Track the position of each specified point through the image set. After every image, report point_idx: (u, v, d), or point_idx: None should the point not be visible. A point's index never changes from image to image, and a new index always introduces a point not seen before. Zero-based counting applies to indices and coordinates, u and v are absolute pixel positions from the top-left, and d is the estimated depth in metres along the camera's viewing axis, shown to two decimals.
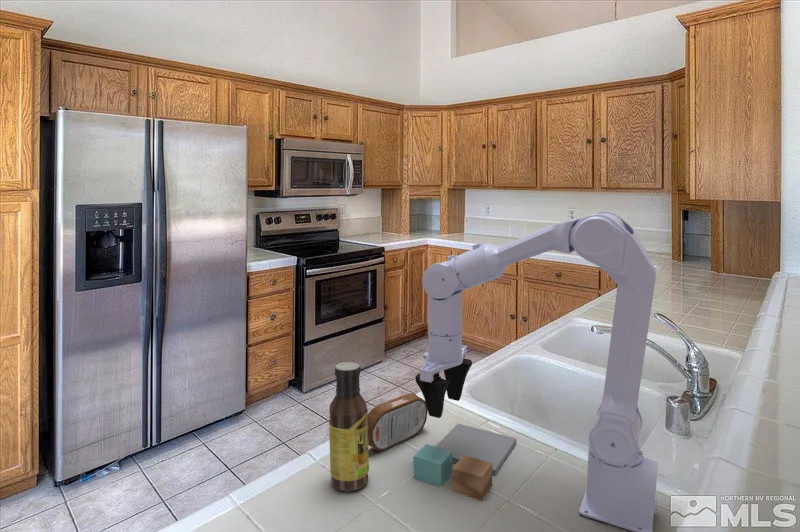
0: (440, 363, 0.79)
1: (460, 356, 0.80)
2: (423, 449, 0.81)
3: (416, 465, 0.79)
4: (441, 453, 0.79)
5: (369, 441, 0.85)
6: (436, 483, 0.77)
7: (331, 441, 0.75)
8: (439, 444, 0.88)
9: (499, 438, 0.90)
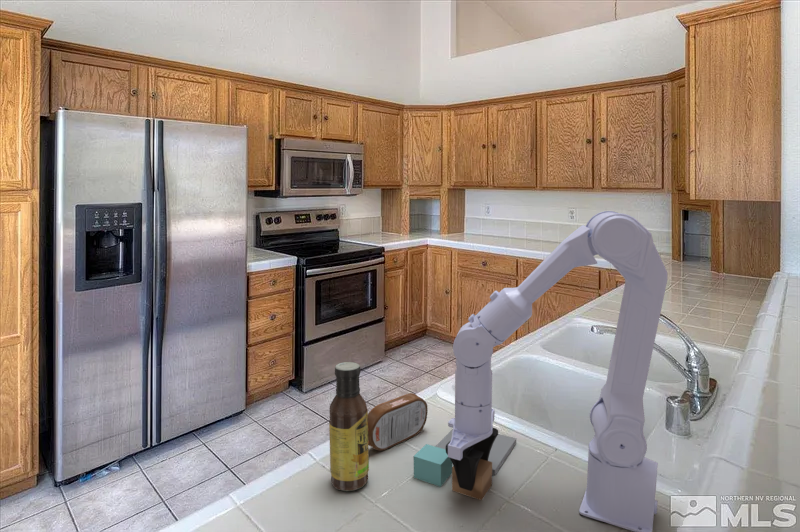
0: (469, 435, 0.72)
1: (490, 426, 0.73)
2: (423, 449, 0.81)
3: (416, 465, 0.79)
4: (441, 453, 0.79)
5: (369, 441, 0.85)
6: (436, 483, 0.77)
7: (331, 441, 0.75)
8: (439, 444, 0.88)
9: (499, 438, 0.90)
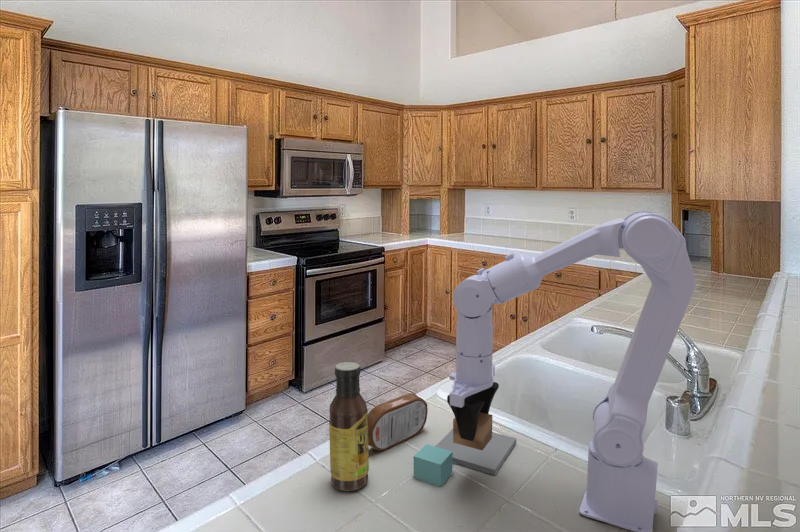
0: (470, 386, 0.73)
1: (491, 378, 0.75)
2: (423, 449, 0.81)
3: (416, 465, 0.79)
4: (441, 453, 0.79)
5: (369, 441, 0.85)
6: (436, 483, 0.77)
7: (331, 441, 0.75)
8: (439, 444, 0.88)
9: (499, 438, 0.90)
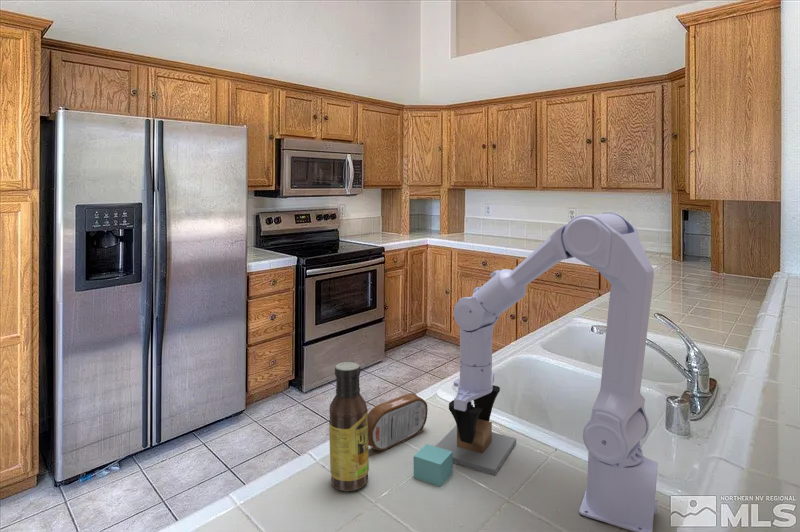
0: (472, 392, 0.83)
1: (490, 384, 0.84)
2: (423, 449, 0.81)
3: (416, 465, 0.79)
4: (441, 453, 0.79)
5: (369, 441, 0.85)
6: (436, 483, 0.77)
7: (331, 441, 0.75)
8: (439, 444, 0.88)
9: (499, 438, 0.90)
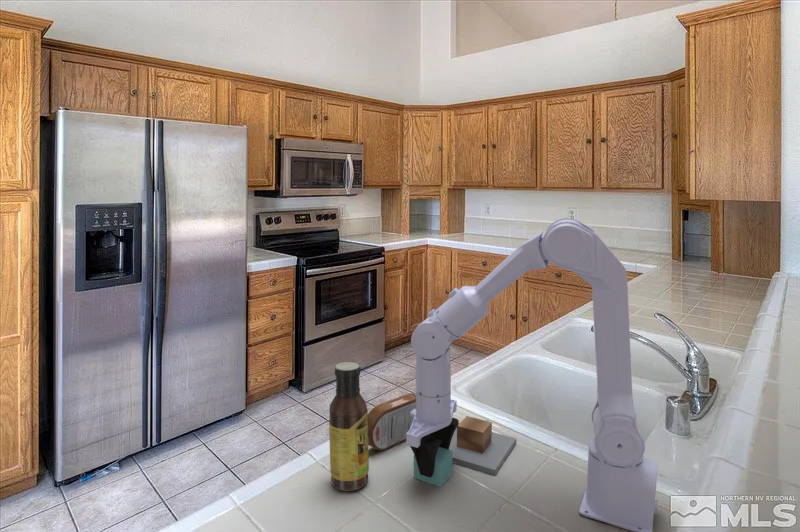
0: (428, 424, 0.75)
1: (449, 416, 0.77)
2: None
3: (416, 464, 0.79)
4: (441, 453, 0.79)
5: (369, 441, 0.85)
6: (436, 482, 0.77)
7: (331, 441, 0.75)
8: None
9: (499, 438, 0.90)
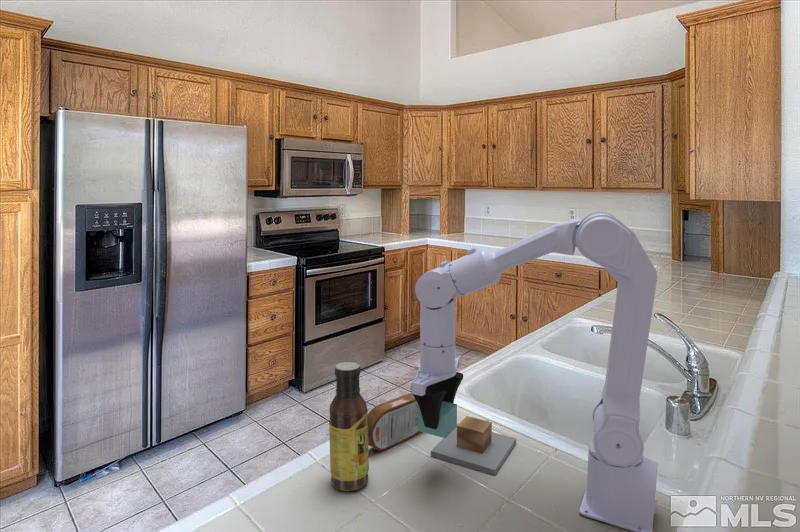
0: (432, 375, 0.75)
1: (453, 367, 0.76)
2: None
3: (420, 417, 0.78)
4: (446, 406, 0.79)
5: (369, 441, 0.85)
6: (441, 434, 0.77)
7: (331, 441, 0.75)
8: (439, 444, 0.88)
9: (499, 438, 0.90)
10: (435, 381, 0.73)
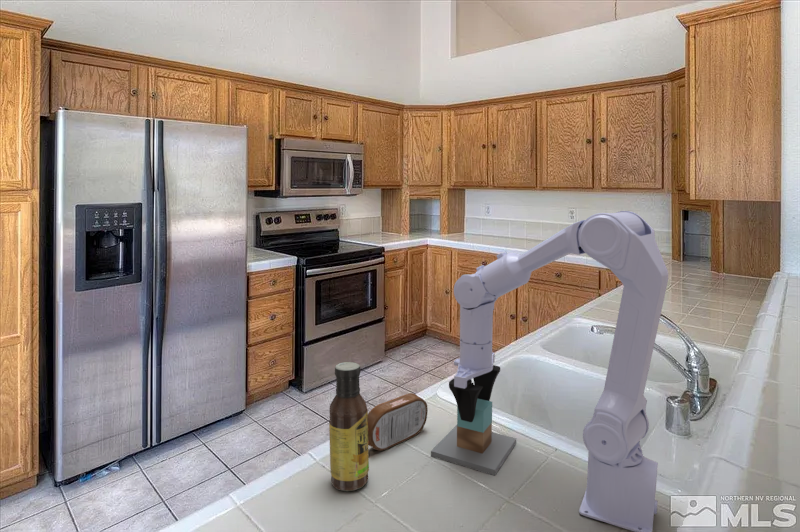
0: (472, 370, 0.82)
1: (491, 363, 0.84)
2: None
3: None
4: (482, 403, 0.86)
5: (369, 441, 0.85)
6: (479, 429, 0.84)
7: (331, 441, 0.75)
8: (439, 444, 0.88)
9: (499, 438, 0.90)
10: (475, 375, 0.81)
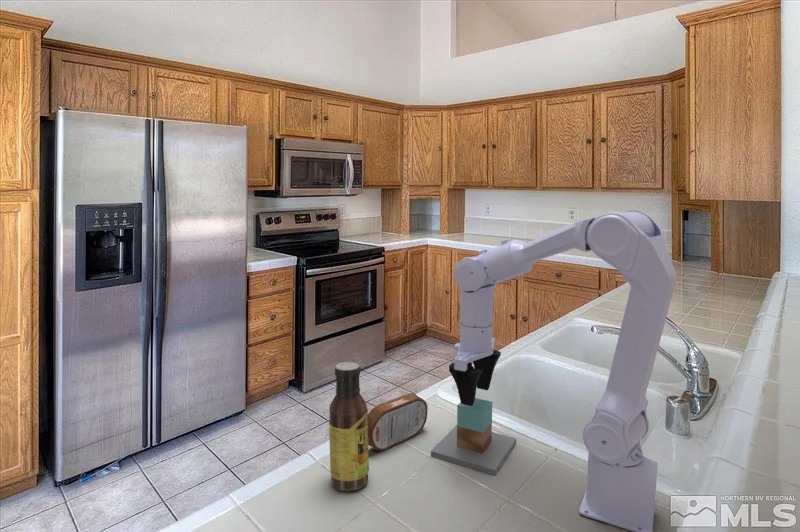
0: (472, 353, 0.82)
1: (491, 347, 0.83)
2: None
3: (460, 413, 0.86)
4: (482, 403, 0.86)
5: (369, 441, 0.85)
6: (479, 429, 0.84)
7: (331, 441, 0.75)
8: (439, 444, 0.88)
9: (499, 438, 0.90)
10: (475, 358, 0.80)
